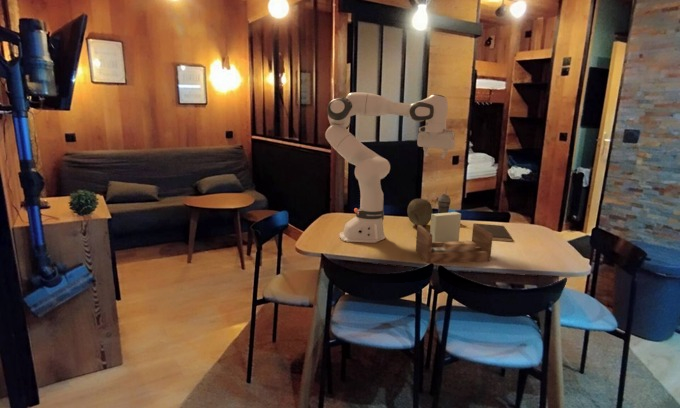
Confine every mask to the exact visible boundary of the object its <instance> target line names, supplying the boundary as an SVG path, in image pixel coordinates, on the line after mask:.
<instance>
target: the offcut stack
mask: <svg viewBox="0 0 680 408" xmlns="http://www.w3.org/2000/svg"><path fill="white" fill-rule="evenodd" d="M475 247H476V243H474V242H473V241H472V240H469V241H468V240H467V241H466V240H463V241H462V240H461V241H460V240H459V241H455V242H443V247H437V248H432V252H473V251H474V249H475Z"/></svg>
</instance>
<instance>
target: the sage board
mask: <svg viewBox="0 0 680 408" xmlns="http://www.w3.org/2000/svg"><path fill="white" fill-rule="evenodd" d="M461 219H462V213H460V212H457V211H452V212H449V211H448V213H433V214H431V220H430V227H429V228H430V229H429V233H431V234H432V242H455V241H460V231H461V230H460V229H461Z"/></svg>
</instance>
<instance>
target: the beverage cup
mask: <svg viewBox="0 0 680 408" xmlns="http://www.w3.org/2000/svg"><path fill="white" fill-rule="evenodd" d="M447 191H448V187H445V193H444V194H440V195H439V197H438V198H437V207H438V209H437V211H438V213H449V211H450V206H451V197H450V195H448V194H447V193H448V192H447Z"/></svg>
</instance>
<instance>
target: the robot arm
mask: <svg viewBox="0 0 680 408" xmlns="http://www.w3.org/2000/svg"><path fill="white" fill-rule="evenodd" d="M448 104H449V103H448V99H447V98H446V97H445V96H444V95H442V94H434V93H433V94H431V95H429V96H428V97H426V98H424V99H422V100H419V101H416V102H411V103H405V102H404V103H403V102H398V101H392V100H390V99H387V98H386V97H384V96H382V95H379V94H375V93H372V92H371V93H370V92H362V91H361V92H360V91H359V92H358V91H356V92H350V93H348V94H347V95H346V96H345V97H338V98H333V99H332V100H331V101H329V103H328V105H327V108H326V109H327V110H326V111H327V119H328V122H329V126H328V128H327V129H326V131H325V132H324V133H325V134H324V136H325V139H326V141H327V142H328V144H330V146H331V148H333V149H334V151H336V152H337V153H338V154H339V155H340V156H341V158H343V160H345V161H346V162H347V163H349V164H351V165H354V166H355V168H354V176H355V179H356V180H357V181H358V186H359V191H360V192H359V193H360V194H359V195H360V199H359V200H360V202H359V203H360V205H359V206H360V207H359V208H357V207H355V208H354V209H353V211H354V213H355V216H353V218H351V219H350V220H348V221H347V222H346V223H345V224H344V228H343V231H340V232H339V235H338V236H339V239H340V238H341V239H340V240H341V241H342V242H345V241H346V242H348V243H349V242H351V243H371V244H373V243H374V244H376V243H378V242H379V241H382V240H384V239H386V236H385V232H384V220H385V219H384V217H385V216H384V215H385V210H384V192H383V190H382V185H381V180H383V179H385V177H387V175H388V174H390V171H391V163H390V161H389V160H388V159H386V158H384V157H383V156H381V155H379V154H378V153H376V152H375V151H373V150H372V149H370V148H368V147H367V146H366V145H364V144H363V143H362V142H361V141H360V140H359V139H358V138H356V137H355V135H354V134H352V133H351V132H350V131H348V129H349V127H350V125H351V117H353V116H355V115H358V116H359V115H360V116H366V117H367V116H368V117H381V116H385V115H394V116H396V115H397V116H402V117H407V118H410V119H411V120H412V121H414V122H417V123H418V122H419V123H420V122H424V121H427V124H426V125H423V126H421V127H420V126H419V128H418V131H419V132H418V135H417V142H416V143H417V144H416V145H417V147H421V148H422V149H423V151H424V157H429V156H430V152H428V149H429V148H431V149H440V150H441V149H442V154H440V156H439V157H440V159H445V158H446V154H447V153H448V150H454V149H455V146H456V143H455V142H456V138H455V137H456V134H455V133H456V132H455V131H454V130H453V129H447V115H448V107H449V106H448Z"/></svg>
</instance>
